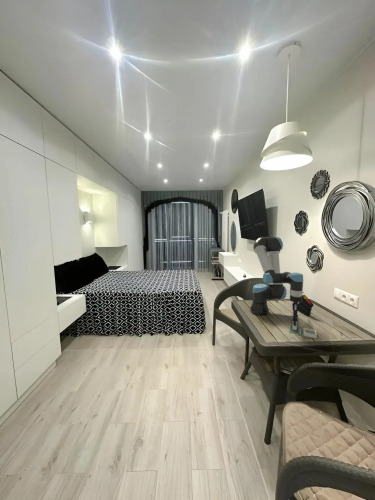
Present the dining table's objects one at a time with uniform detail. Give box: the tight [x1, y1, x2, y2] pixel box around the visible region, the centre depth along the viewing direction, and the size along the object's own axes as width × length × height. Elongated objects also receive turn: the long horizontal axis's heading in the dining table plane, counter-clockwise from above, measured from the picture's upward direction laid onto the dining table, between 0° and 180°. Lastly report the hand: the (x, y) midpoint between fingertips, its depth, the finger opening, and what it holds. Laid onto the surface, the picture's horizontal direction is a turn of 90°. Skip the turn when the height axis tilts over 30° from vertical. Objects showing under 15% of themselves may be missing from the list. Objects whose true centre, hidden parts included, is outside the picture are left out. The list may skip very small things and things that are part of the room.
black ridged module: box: [297, 294, 314, 317], centre depth 166 cm, size 4×13×15 cm, turn 10°
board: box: [288, 324, 318, 340], centre depth 136 cm, size 16×12×3 cm
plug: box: [290, 315, 300, 331], centre depth 139 cm, size 4×4×8 cm
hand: (294, 327), depth 140 cm, fingers open, 6 cm apart
